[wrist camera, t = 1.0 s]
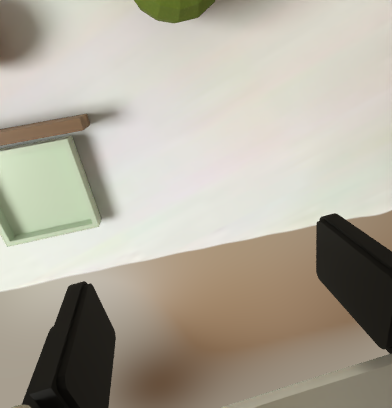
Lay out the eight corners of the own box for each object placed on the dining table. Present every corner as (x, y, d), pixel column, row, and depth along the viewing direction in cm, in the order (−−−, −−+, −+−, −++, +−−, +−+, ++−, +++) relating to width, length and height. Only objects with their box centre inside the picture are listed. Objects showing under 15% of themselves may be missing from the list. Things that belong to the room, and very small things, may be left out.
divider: (-64, 140, 29) (-93, 149, 25) (87, 113, 30) (79, 118, 27) (-58, 151, 30) (-85, 161, 26) (90, 124, 31) (83, 130, 27)
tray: (-31, 154, 30) (-42, 159, 28) (71, 135, 31) (67, 138, 29) (14, 237, 35) (7, 246, 33) (101, 219, 36) (98, 226, 34)
